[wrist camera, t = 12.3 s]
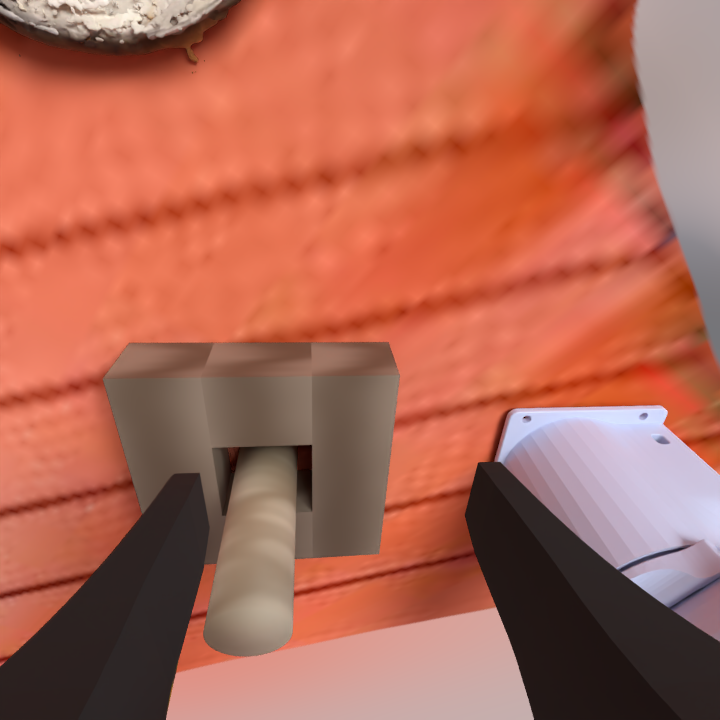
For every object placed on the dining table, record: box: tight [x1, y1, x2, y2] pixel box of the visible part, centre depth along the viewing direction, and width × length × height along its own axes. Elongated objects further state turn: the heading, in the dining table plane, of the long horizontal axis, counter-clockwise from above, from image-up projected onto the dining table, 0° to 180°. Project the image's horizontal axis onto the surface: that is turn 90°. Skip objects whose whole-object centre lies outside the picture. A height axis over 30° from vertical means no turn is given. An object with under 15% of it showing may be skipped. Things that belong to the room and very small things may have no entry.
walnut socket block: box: [103, 342, 400, 564], centre depth 22 cm, size 12×12×3 cm
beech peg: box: [203, 445, 298, 656], centre depth 19 cm, size 3×3×10 cm
